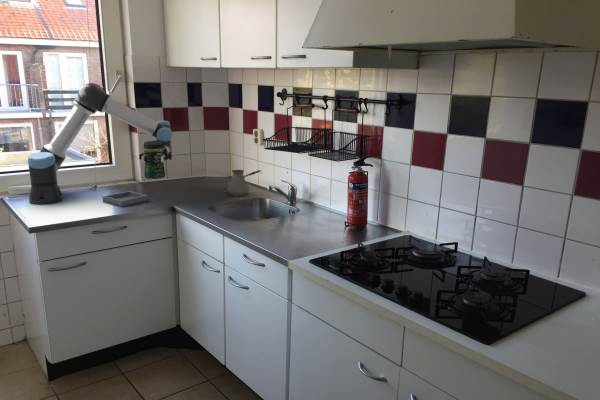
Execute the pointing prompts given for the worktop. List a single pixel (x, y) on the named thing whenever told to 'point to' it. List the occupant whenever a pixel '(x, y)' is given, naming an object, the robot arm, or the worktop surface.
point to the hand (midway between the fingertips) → (152, 159)
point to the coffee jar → (154, 159)
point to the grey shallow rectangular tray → (125, 198)
